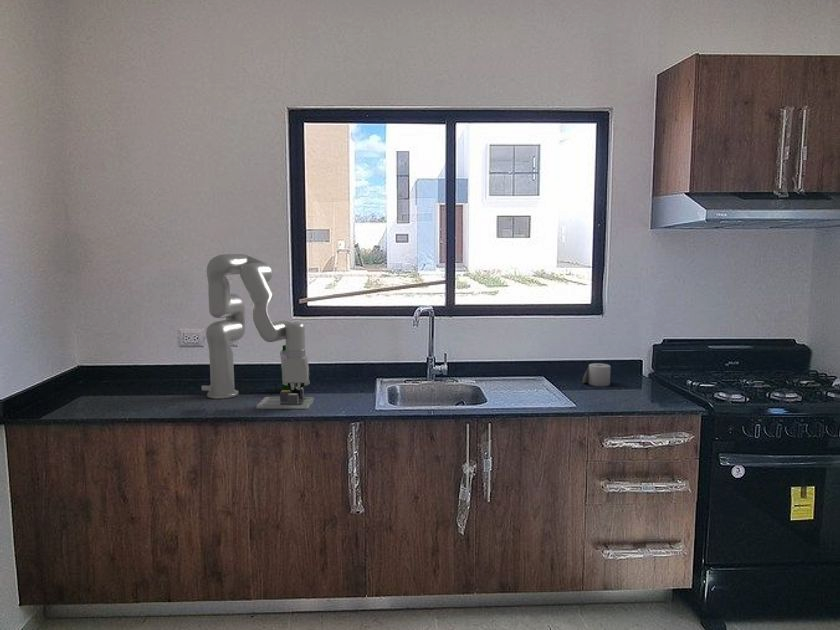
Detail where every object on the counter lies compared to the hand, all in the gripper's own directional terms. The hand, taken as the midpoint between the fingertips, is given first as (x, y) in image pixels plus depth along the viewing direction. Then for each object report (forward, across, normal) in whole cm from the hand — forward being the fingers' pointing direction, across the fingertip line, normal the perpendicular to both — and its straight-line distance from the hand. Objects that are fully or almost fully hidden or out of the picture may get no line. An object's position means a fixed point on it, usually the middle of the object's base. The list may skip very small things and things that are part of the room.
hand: (296, 398), depth 250 cm
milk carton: (+2, -6, +22) cm, 23 cm away
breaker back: (+1, 0, +5) cm, 5 cm away
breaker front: (+1, 0, -5) cm, 5 cm away
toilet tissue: (+2, +129, +37) cm, 134 cm away
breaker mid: (+1, -4, 0) cm, 4 cm away
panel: (+2, -4, 0) cm, 5 cm away
